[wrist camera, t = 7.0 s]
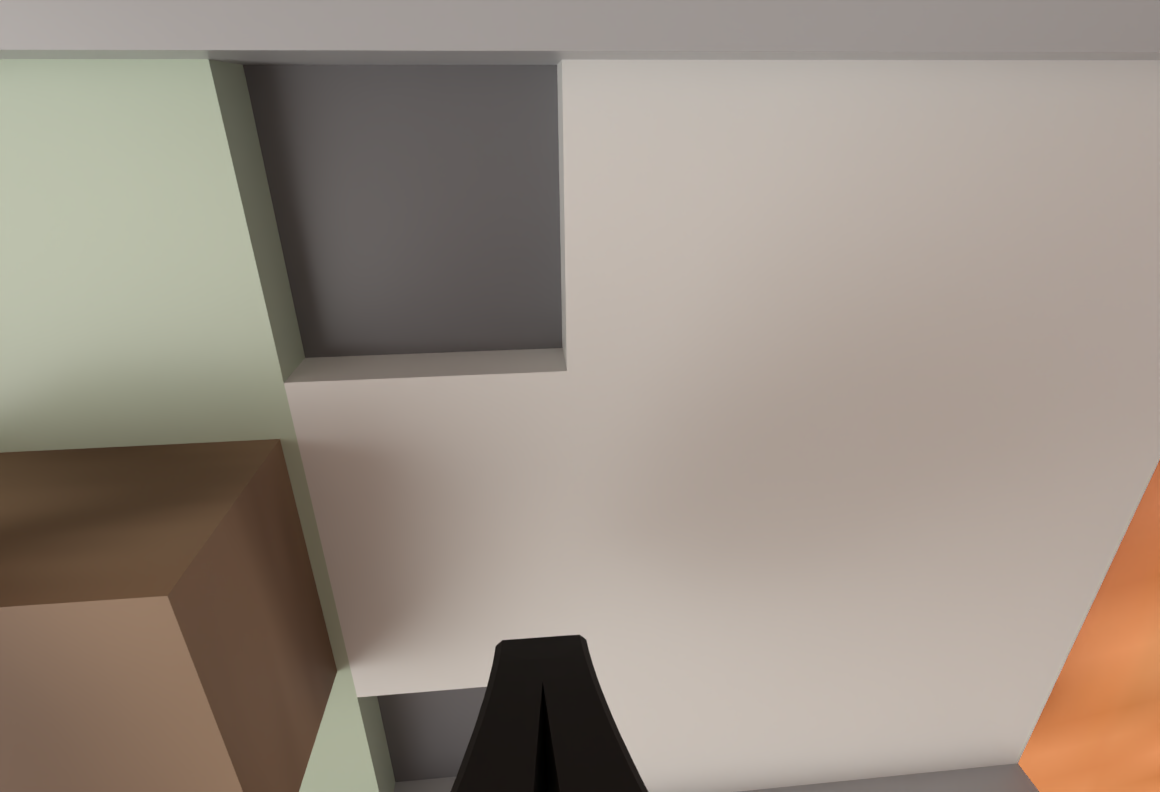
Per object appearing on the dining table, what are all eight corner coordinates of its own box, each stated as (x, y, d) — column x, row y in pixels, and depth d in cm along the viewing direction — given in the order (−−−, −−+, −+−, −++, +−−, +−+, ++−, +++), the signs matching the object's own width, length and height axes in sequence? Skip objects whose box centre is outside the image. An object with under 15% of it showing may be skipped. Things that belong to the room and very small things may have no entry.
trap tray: (1268, 15, 11) (1566, -21, 8) (975, 734, 19) (1064, 855, 16) (-330, 3, 9) (-790, -54, 6) (114, 816, 17) (24, 974, 14)
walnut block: (279, 438, 11) (167, 596, 8) (337, 671, 14) (273, 870, 10) (-74, 455, 11) (-376, 632, 7) (53, 693, 13) (-120, 912, 10)
